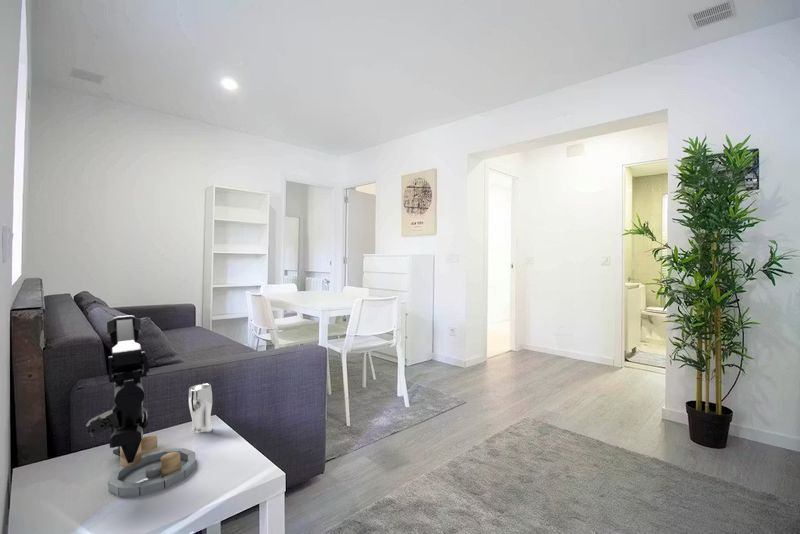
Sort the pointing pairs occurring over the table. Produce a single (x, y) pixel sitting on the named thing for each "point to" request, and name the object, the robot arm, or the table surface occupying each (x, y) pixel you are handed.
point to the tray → (150, 474)
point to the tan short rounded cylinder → (170, 463)
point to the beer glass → (200, 407)
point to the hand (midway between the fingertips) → (131, 458)
